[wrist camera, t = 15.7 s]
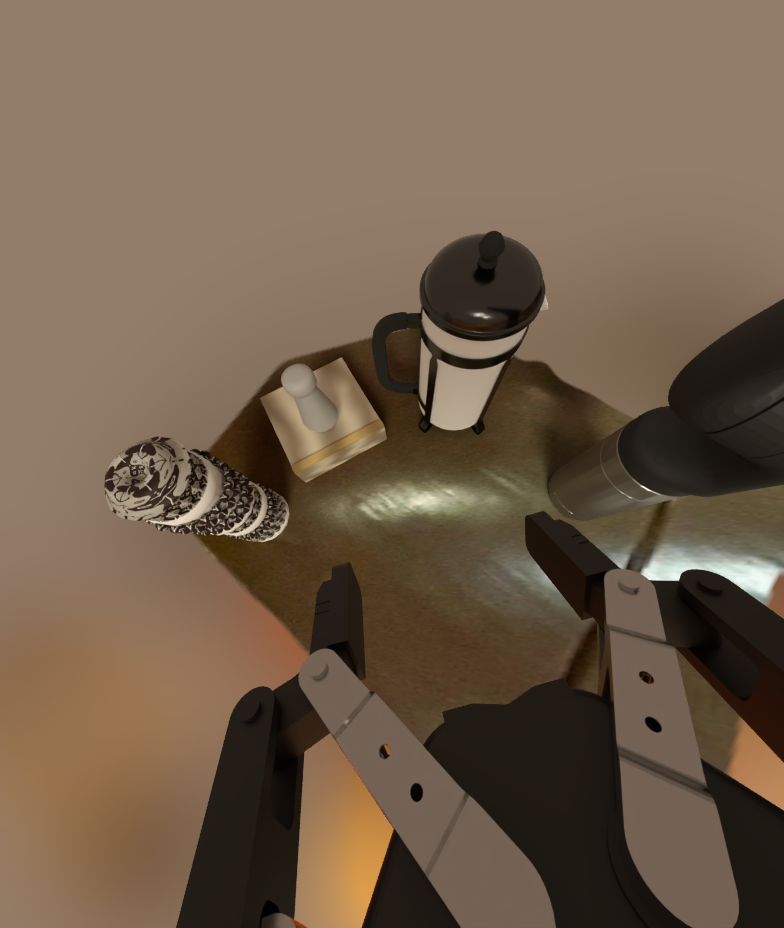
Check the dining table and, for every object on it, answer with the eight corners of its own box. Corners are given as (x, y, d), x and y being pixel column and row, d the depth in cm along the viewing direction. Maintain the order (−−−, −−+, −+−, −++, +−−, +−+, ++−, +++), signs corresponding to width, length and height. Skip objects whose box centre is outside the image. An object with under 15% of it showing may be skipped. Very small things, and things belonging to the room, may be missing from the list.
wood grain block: (347, 374, 58) (341, 355, 53) (386, 439, 53) (384, 425, 48) (272, 412, 56) (258, 396, 51) (306, 482, 51) (294, 473, 46)
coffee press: (451, 355, 58) (490, 153, 29) (510, 412, 53) (623, 237, 25) (380, 404, 55) (348, 235, 27) (435, 468, 51) (466, 346, 22)
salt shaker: (299, 423, 49) (262, 376, 37) (324, 400, 50) (296, 347, 38) (323, 444, 48) (293, 403, 36) (348, 420, 49) (327, 372, 37)
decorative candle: (226, 519, 50) (61, 478, 26) (267, 478, 52) (147, 407, 28) (261, 556, 48) (113, 549, 24) (302, 513, 50) (204, 466, 26)
